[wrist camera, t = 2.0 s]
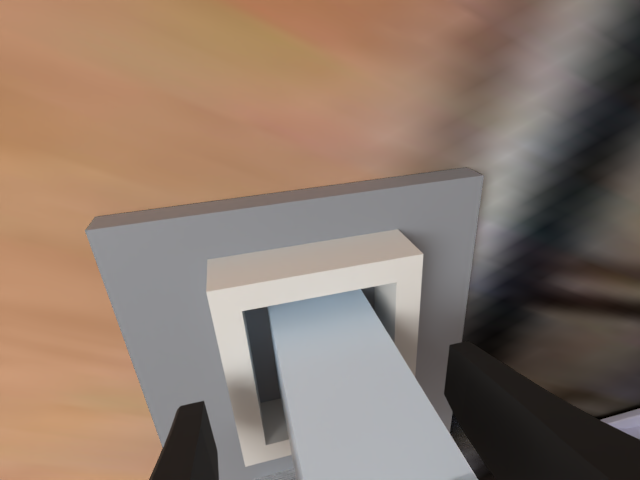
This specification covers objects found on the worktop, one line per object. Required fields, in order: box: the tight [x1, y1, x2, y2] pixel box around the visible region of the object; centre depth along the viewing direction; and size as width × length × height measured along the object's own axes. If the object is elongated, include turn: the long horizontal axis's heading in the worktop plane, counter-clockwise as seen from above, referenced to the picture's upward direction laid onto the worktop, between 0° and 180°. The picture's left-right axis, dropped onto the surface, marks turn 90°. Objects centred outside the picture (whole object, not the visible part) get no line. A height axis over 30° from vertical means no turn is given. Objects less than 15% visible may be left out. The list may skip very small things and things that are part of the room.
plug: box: [267, 289, 478, 480], centre depth 10 cm, size 3×4×8 cm
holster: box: [206, 229, 423, 467], centre depth 13 cm, size 6×7×2 cm
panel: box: [85, 167, 484, 480], centre depth 17 cm, size 12×21×1 cm, turn 3°
